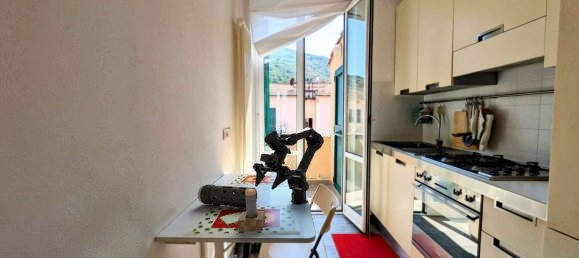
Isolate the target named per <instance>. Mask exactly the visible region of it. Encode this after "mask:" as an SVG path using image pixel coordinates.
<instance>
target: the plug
mask: <svg viewBox="0 0 579 258" xmlns="http://www.w3.org/2000/svg"><path fill="white" fill-rule="evenodd" d="M255 189H256V188H255ZM255 189H248V190H245V194H246V211H245V212H246V215H247V218H257V202H256V190H257V189H256V190H255Z"/></svg>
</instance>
